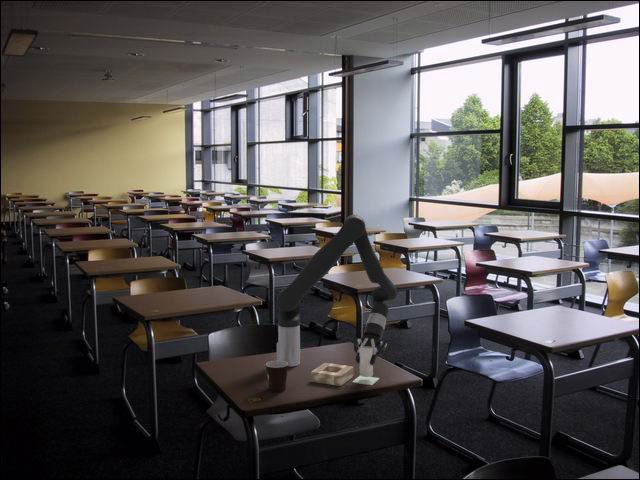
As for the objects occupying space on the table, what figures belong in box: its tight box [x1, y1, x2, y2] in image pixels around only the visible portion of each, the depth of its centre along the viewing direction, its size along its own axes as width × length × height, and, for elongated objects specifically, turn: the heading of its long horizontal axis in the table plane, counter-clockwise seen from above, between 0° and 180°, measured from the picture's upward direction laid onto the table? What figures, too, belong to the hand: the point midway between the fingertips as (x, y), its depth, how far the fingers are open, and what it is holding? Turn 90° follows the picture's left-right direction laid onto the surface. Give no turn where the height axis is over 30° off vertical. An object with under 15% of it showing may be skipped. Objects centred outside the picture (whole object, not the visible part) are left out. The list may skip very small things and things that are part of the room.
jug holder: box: [310, 362, 354, 387], centre depth 258 cm, size 13×13×4 cm
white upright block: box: [359, 346, 374, 377], centre depth 254 cm, size 5×7×11 cm
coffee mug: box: [265, 360, 289, 393], centre depth 248 cm, size 12×9×10 cm
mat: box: [351, 375, 380, 386], centre depth 256 cm, size 8×8×1 cm
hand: (364, 363), depth 254 cm, fingers closed on white upright block, 5 cm apart
